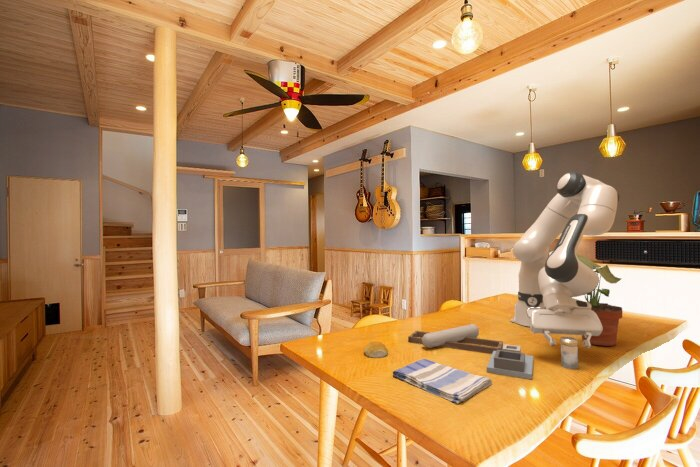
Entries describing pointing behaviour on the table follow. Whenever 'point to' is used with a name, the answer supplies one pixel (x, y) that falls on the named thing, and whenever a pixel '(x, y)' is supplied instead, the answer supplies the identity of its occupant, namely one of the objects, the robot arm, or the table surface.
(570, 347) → the clear cylindrical piece
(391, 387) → the table surface
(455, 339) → the tube
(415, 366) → the dish towel
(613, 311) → the potted plant
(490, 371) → the plate
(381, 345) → the bread roll
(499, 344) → the tube tray
